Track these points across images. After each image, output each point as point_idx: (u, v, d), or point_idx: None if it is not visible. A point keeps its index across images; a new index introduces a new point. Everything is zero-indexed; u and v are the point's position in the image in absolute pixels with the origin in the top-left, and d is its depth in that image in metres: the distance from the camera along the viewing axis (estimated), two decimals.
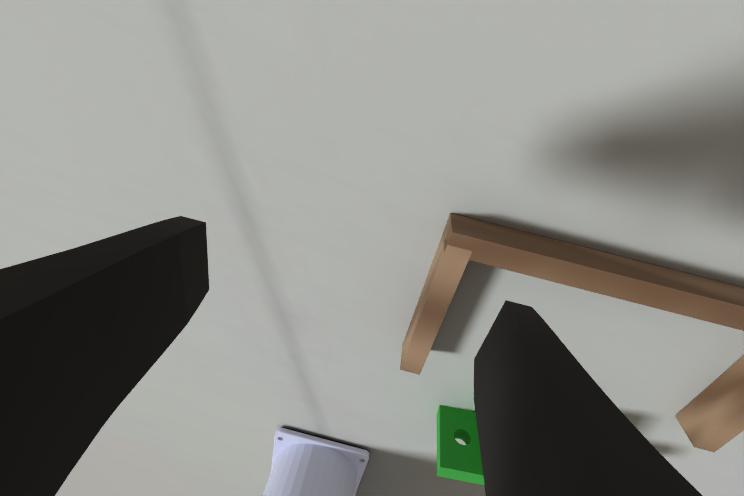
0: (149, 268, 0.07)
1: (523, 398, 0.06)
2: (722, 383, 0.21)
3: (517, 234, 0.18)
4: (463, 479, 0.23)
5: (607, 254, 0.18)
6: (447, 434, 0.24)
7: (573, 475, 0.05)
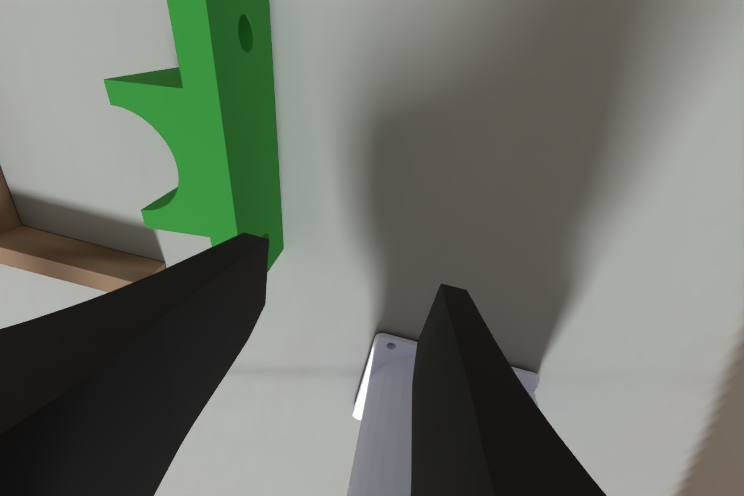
0: (227, 288, 0.07)
1: (441, 377, 0.06)
2: None
3: None
4: None
5: None
6: None
7: (463, 446, 0.05)
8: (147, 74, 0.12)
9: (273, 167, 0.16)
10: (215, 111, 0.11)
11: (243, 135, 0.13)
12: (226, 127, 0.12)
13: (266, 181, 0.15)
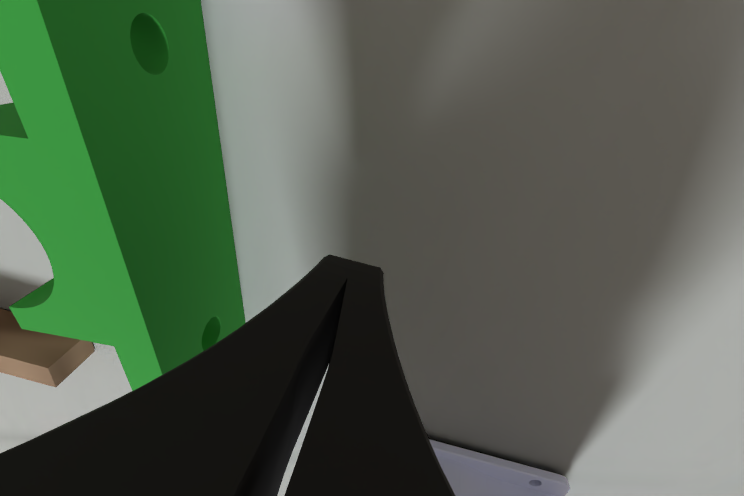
0: (331, 315, 0.07)
1: None
2: None
3: None
4: None
5: None
6: None
7: None
8: (4, 107, 0.08)
9: (221, 228, 0.11)
10: (87, 174, 0.07)
11: (154, 200, 0.08)
12: (113, 198, 0.07)
13: (209, 250, 0.11)
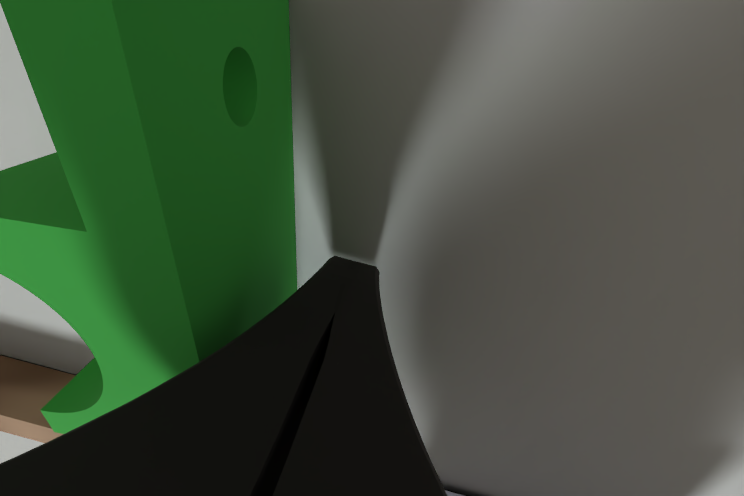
0: None
1: None
2: None
3: None
4: None
5: None
6: None
7: None
8: (38, 165, 0.06)
9: (288, 289, 0.09)
10: (167, 279, 0.05)
11: (234, 286, 0.06)
12: (196, 301, 0.05)
13: None
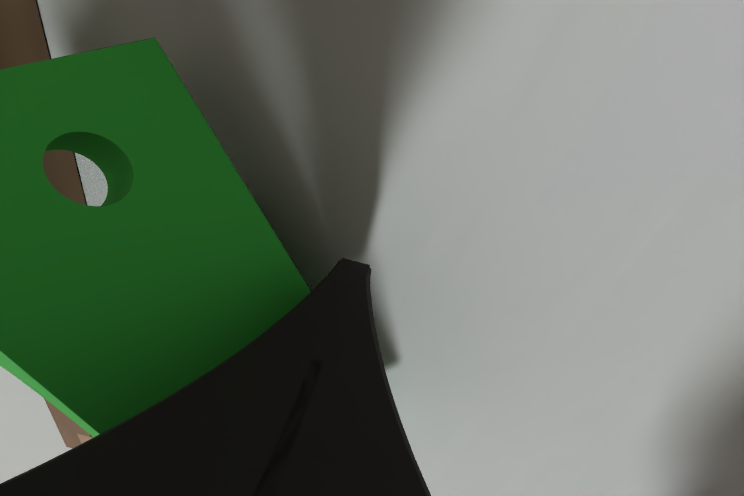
0: None
1: None
2: None
3: None
4: None
5: None
6: None
7: None
8: None
9: None
10: (34, 381, 0.05)
11: (168, 360, 0.06)
12: (83, 394, 0.05)
13: None
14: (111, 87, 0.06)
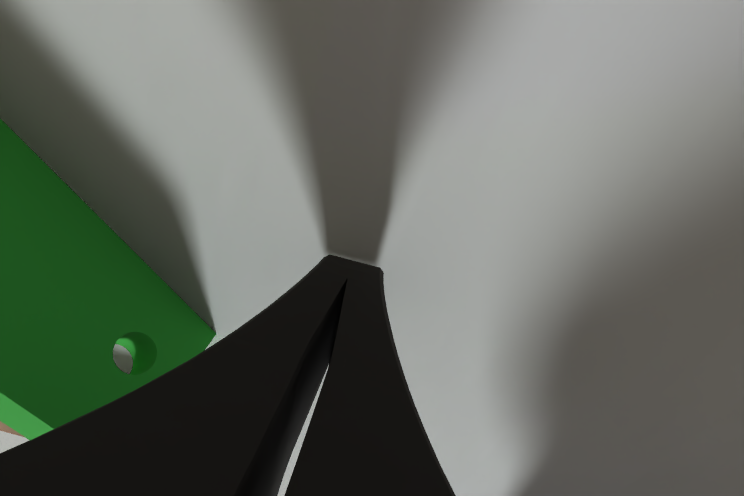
0: (331, 316, 0.07)
1: (333, 348, 0.07)
2: None
3: None
4: None
5: None
6: None
7: None
8: None
9: (85, 231, 0.10)
10: None
11: None
12: None
13: (71, 258, 0.09)
14: None
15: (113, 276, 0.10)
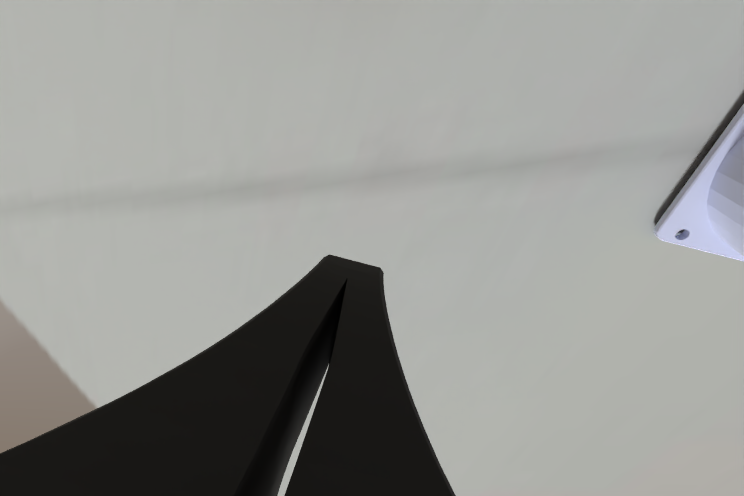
0: (331, 315, 0.07)
1: None
2: None
3: None
4: None
5: None
6: None
7: None
8: None
9: None
10: None
11: None
12: None
13: None
14: None
15: None
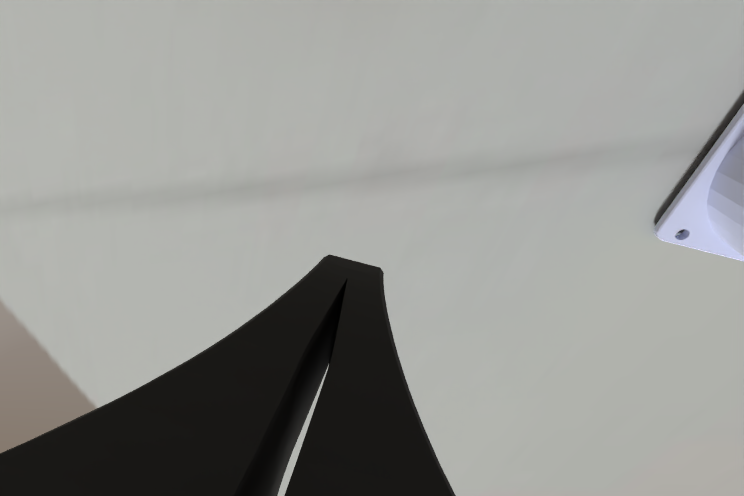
0: (331, 315, 0.07)
1: None
2: None
3: None
4: None
5: None
6: None
7: None
8: None
9: None
10: None
11: None
12: None
13: None
14: None
15: None
